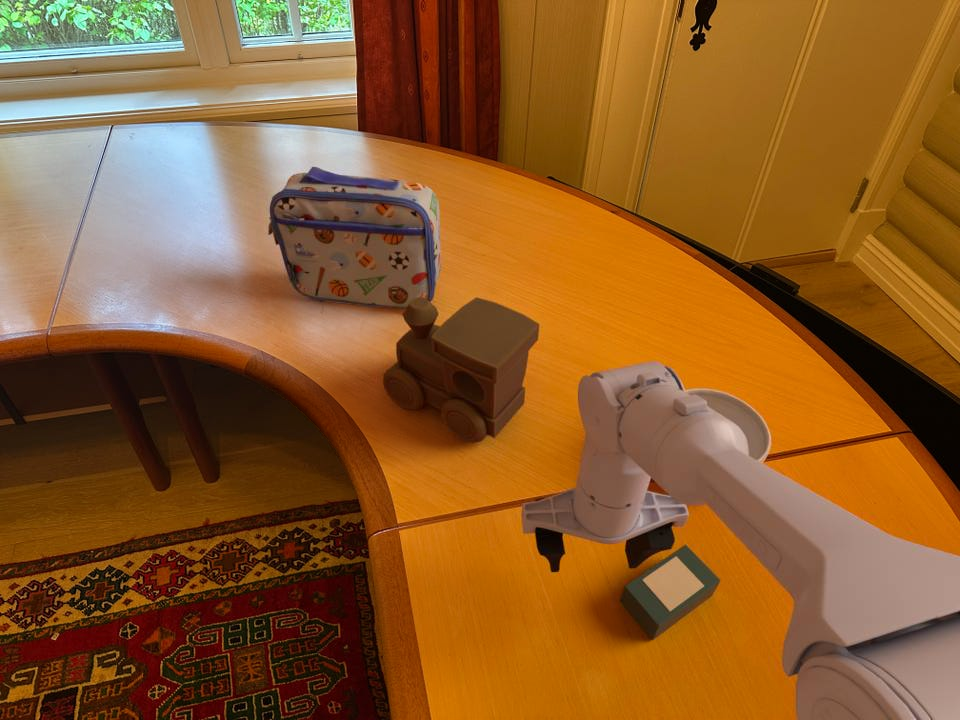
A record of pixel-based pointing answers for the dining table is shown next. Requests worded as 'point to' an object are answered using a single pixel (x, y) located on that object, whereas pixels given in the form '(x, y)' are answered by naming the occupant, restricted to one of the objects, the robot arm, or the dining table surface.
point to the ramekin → (739, 419)
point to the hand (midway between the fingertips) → (591, 561)
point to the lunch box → (358, 238)
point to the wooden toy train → (463, 365)
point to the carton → (669, 591)
